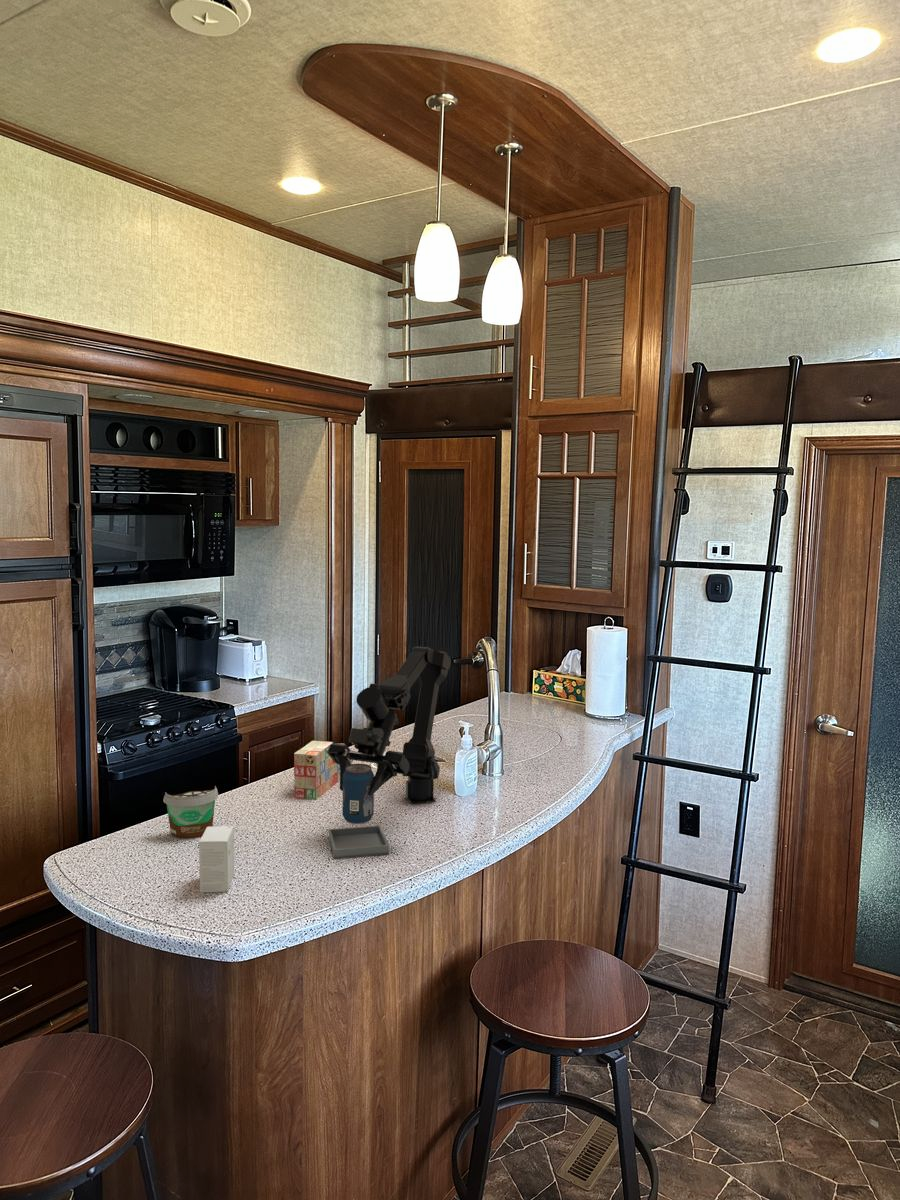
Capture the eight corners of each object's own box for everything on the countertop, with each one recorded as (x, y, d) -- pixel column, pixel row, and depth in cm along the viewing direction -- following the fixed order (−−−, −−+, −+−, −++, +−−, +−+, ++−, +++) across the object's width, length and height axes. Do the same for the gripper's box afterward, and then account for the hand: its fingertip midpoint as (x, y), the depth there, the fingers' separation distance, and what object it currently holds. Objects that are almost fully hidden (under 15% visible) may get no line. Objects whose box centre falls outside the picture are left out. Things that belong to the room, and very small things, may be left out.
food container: (168, 844, 186) (167, 801, 185) (163, 834, 192) (162, 792, 190) (224, 835, 192) (223, 793, 191) (218, 826, 197) (217, 785, 196)
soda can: (347, 812, 190) (347, 761, 189) (376, 815, 189) (377, 763, 188) (338, 823, 184) (338, 771, 182) (369, 826, 182) (369, 773, 181)
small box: (207, 875, 171) (206, 825, 170) (235, 874, 171) (234, 825, 170) (199, 893, 163) (198, 841, 162) (228, 892, 163) (227, 840, 162)
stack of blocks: (325, 773, 238) (325, 731, 236) (345, 775, 236) (345, 733, 235) (294, 798, 217) (293, 752, 216) (316, 800, 216) (316, 754, 214)
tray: (380, 833, 194) (380, 825, 194) (389, 854, 182) (389, 845, 182) (328, 837, 191) (328, 829, 191) (334, 858, 180) (334, 850, 179)
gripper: (331, 708, 191) (304, 769, 182) (404, 717, 184) (380, 781, 175) (348, 733, 199) (324, 792, 190) (419, 743, 192) (397, 805, 183)
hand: (355, 792), depth 184 cm, fingers closed on soda can, 7 cm apart
